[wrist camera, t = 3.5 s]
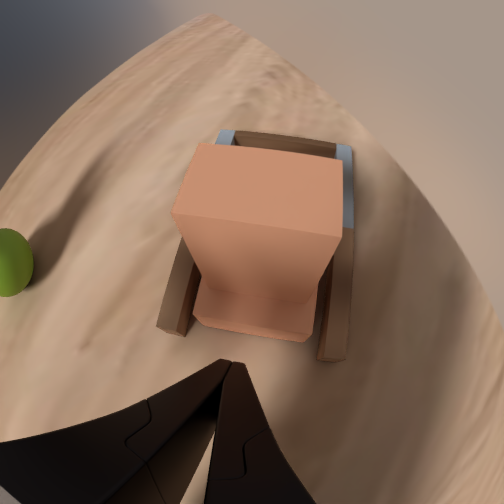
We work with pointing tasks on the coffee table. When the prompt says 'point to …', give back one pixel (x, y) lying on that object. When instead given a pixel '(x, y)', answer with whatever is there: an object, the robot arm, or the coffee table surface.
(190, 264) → the beam slot
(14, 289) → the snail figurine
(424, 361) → the coffee table surface
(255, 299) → the block
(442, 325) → the coffee table surface
